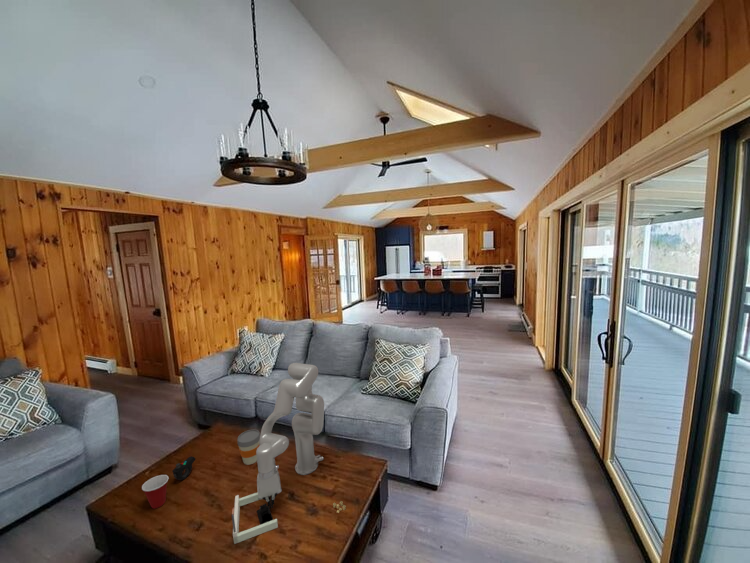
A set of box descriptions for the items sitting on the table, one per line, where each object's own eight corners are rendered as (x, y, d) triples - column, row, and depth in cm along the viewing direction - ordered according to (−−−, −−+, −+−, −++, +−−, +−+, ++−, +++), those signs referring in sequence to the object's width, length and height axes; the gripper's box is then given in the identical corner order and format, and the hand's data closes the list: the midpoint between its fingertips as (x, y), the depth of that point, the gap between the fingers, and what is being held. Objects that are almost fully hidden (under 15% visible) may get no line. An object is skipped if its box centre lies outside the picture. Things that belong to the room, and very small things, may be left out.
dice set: (332, 506, 143) (332, 503, 143) (342, 502, 145) (342, 498, 145) (336, 515, 139) (335, 511, 138) (346, 510, 141) (346, 507, 140)
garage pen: (274, 492, 153) (272, 468, 151) (277, 527, 134) (274, 501, 132) (236, 505, 147) (233, 481, 145) (234, 544, 127) (230, 516, 125)
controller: (172, 484, 162) (170, 467, 161) (192, 467, 174) (189, 451, 173) (179, 485, 161) (176, 468, 160) (198, 468, 173) (195, 452, 171)
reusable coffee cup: (254, 449, 187) (252, 426, 185) (267, 456, 179) (264, 433, 177) (235, 461, 177) (232, 438, 175) (247, 470, 169) (244, 445, 167)
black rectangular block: (254, 510, 144) (253, 501, 143) (269, 502, 148) (268, 494, 147) (259, 530, 133) (258, 521, 133) (276, 521, 137) (275, 512, 137)
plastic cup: (177, 496, 154) (173, 475, 152) (157, 514, 144) (153, 492, 142) (160, 492, 157) (157, 471, 155) (139, 510, 147) (135, 488, 145)
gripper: (283, 460, 146) (286, 494, 149) (250, 471, 141) (254, 505, 143) (284, 471, 139) (288, 506, 142) (249, 482, 134) (254, 519, 136)
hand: (271, 506), depth 142 cm, fingers closed
